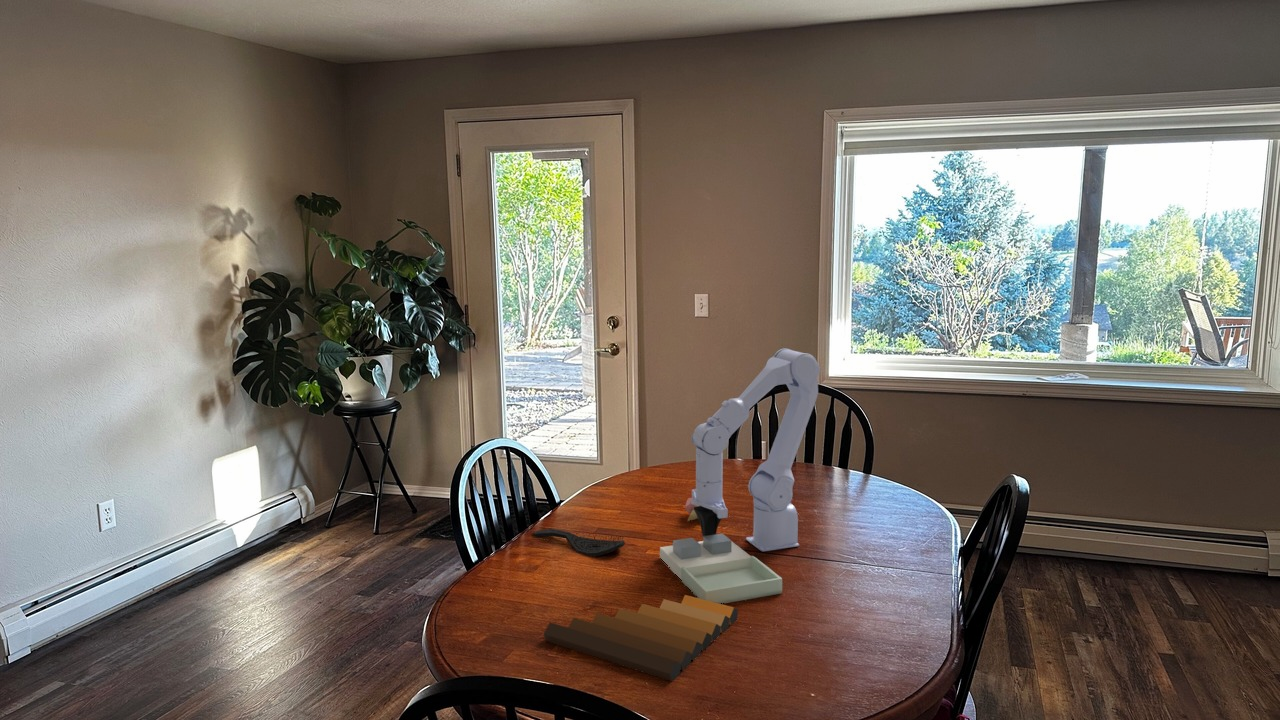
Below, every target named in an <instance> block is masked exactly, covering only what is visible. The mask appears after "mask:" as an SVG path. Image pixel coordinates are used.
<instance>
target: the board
mask: <svg viewBox="0 0 1280 720" xmlns="http://www.w3.org/2000/svg"><path fill="white" fill-rule="evenodd" d="M697 542H698V543H699V544H700V545H701V557H695V558H689V559H682V560H681V559H680V558H679V557H678V556H677V555H676V554H675V553H674V552H673V545H666V546H661V547H660V546H659V559H660V558H661V559H662V560H663V561H664V562H665V563H666V564H667V565H668V566H667V565H666V564H665V563H664V562H663V561H662V560H661V559H660V560H661V561H662V562H663V563H664V564H665V565H666V566H667V567H668V568H669V567H670V568H669V569H670V571H671V572H672V573H674V575H675V574H676V575H677V576H678V577H679V578H680V579H681V567H685V568H686V569H687V570H688V571H689V572H690V573H691V574H692V575H693V576H694V577H696V576H702V575H708V574H714V573H720V572H727V571H733V570H739V569H745V568H751V556H752V555H750V554H748V553H747V552H746V551H745V550H744V549H743V548H741V547H740V546H739V545H737V544H736V543H735V542H733V541H732V545H731V552H728V553H721V554H715V555H712V554H710V553H709V552H708V551H707V550H706V549H705V548H704V547H703V540H702V541H700V540H699V541H697ZM676 575H675V576H676ZM677 576H676V577H677ZM678 577H677V578H678ZM679 578H678V579H679ZM680 579H679V580H680Z"/></svg>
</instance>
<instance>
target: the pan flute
mask: <svg viewBox="0 0 1280 720" xmlns="http://www.w3.org/2000/svg"><path fill="white" fill-rule="evenodd" d="M738 613H739V610H738V609H737V608H735V607H734V606H730V605H726V604H719V603H715V602H711V601H707V600H703V599H699V598H697V597H696V596H691V595H686V594H684V596H683V599H682V600H681V603H680V602H677V601H673V600H669V599H664V598H663V600H662V602H661V604H660V607H656V606H653V605H648V604H645V603H641V605H640V607H639V609H638V611H637V612H636V611H632V610H628V609H625V608H621V607H619V609H618V611H617V613H616V615H615V617H613V616H609V615H606V614H602V613H600V612H596V613H595V616H594V617H593V620H592V621H591V622H590V621H587V620H583V619H580V618H578V617H572V619H571V622H570V624H569V625H568V627H566V626H562V625H559V624H557V623H554V622H549V623H548V625H547V627H546V629H545V631H543V637H544V640H545V642H549V643H551V644H555V645H558V646H559V647H563V648H567V649H570V650H572V649H573V651H575V650H576V652H579V653H583V654H585V655H588V654H589V656H591V655H592V657H594V656H595V658H597V657H598V658H597V659H600V658H601V659H600V660H603V659H605V660H604V661H606V660H608V661H607V662H609V661H611V662H610V663H612V662H614V663H613V664H616V663H617V664H616V665H619V664H621V665H620V666H622V665H624V666H623V667H625V666H627V667H626V668H628V667H630V668H629V669H631V668H633V669H632V670H634V669H637V670H639V671H638V672H640V671H643V672H645V673H644V674H646V673H649V674H652V675H651V676H653V675H655V676H654V677H656V676H658V677H657V678H659V677H660V679H662V678H663V679H662V680H665V679H667V680H666V681H668V680H669V682H671V681H672V682H673V681H675V679H676V678H677V677H679V676H680V675H679V674H681V671H680V670H684V669H685V668H686V667H687V666H688V665H689V664H690V663H691V662H692V661H691V660H694V659H695V658H696V657H697V656H698V655H699V654H700V655H701V654H702V652H703V651H704V650H705V649H706V648H707V647H708V646H709V645H710V646H711V643H714V642H715V641H716V640H717V639H718V638H719V637H720V636H719V635H721V633H722V634H723V633H724V632H726V631H727V630H728V629H729V626H732V625H733V624H734V623H735V622H736V621H737V620H738ZM727 628H728V629H727ZM718 636H719V637H718ZM717 637H718V638H717ZM716 638H717V639H716ZM715 639H716V640H715ZM714 640H715V641H714ZM711 641H712V642H711ZM713 641H714V642H713ZM710 646H709V647H710ZM709 647H708V648H709ZM708 648H707V649H708ZM707 649H706V650H707ZM701 650H702V651H701ZM706 650H705V651H706ZM700 655H699V656H700ZM699 656H698V657H699ZM698 657H697V658H698ZM697 658H696V659H697ZM696 659H695V660H696ZM695 660H694V661H695ZM690 665H691V664H690ZM690 665H689V666H690ZM689 666H688V667H689ZM688 667H687V668H688ZM687 668H686V669H687ZM686 669H685V670H686ZM637 670H636V671H637ZM685 670H684V671H685ZM643 672H642V673H643ZM649 674H648V675H649ZM674 678H675V679H674Z"/></svg>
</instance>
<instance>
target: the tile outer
mask: <svg viewBox="0 0 1280 720" xmlns="http://www.w3.org/2000/svg"><path fill="white" fill-rule="evenodd" d="M698 542H699V541H697V540H696V539H695V538H693V537H688V538H681V539H674V540H672V546H673V552H674V553H675V554H676V555H677V556H678V557H679V558H680V559H681V560H682V559H689V558H695V557H701V545H700V544H699V543H698Z"/></svg>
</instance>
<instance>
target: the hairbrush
mask: <svg viewBox="0 0 1280 720" xmlns="http://www.w3.org/2000/svg"><path fill="white" fill-rule="evenodd" d="M582 534H583V535H584V532H583V533H582ZM532 535H533V536H534V537H535V538H541V537H543V538H544V537H557V538H561V539H565V540H566V541H567V542H568V544H569V546H571V548H572V550H574V551H575V552H576V553H577V552H578V553H579V554H582V555H586V556H589V557H600V556H602V555H606V554H610V553H612V552H614V551H617V550H619V549H620V548H623V547H624V546H625V545H626V542H625V540H624V536H622V535H620V536H616V537H615V538H616V540H615V538H613V536H610V535H607V536H605V538H604V537H602V536H599V539H598V538H596V537H598V535H596V534H595V535H594V534H593V535H592V537H591V534H590V533H589V535H587V534H586V537H585V536H582V535H580V536H579V535H578V532H576V533H575V534H574V533H572V532H571V531H570V532H569V531H565V530H560V529H556V528H547V529H540V530H536V531H534V532H533V531H532ZM621 537H622V538H621ZM608 538H609V539H608Z"/></svg>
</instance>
